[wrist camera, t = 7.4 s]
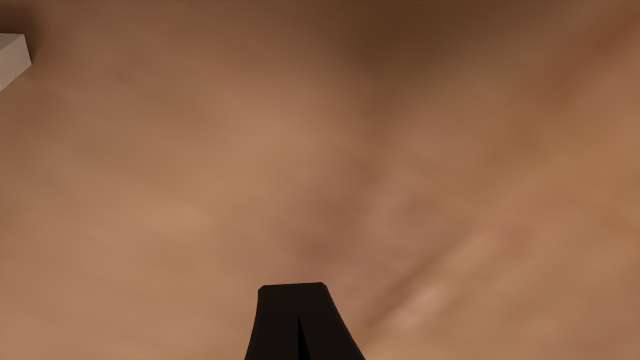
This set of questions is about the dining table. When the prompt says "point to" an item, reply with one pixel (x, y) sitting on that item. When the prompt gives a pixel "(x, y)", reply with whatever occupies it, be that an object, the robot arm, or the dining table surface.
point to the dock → (12, 57)
